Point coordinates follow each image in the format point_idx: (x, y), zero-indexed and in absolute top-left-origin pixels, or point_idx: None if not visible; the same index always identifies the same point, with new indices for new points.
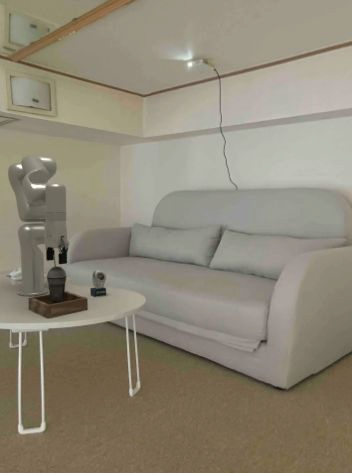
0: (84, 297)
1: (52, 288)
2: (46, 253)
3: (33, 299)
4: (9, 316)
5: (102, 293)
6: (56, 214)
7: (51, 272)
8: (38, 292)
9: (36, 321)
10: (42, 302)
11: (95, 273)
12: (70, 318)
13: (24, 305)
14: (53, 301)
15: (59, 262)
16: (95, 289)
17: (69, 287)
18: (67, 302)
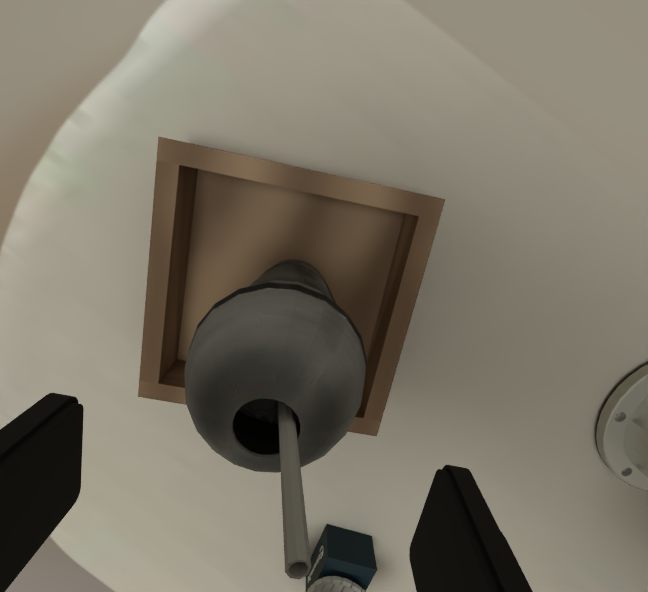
0: (164, 397)
1: (265, 279)
2: (507, 566)
3: (382, 193)
4: (402, 38)
5: (312, 565)
6: None
7: (249, 323)
8: (624, 418)
9: (189, 69)
10: (265, 176)
11: None
12: (98, 215)
13: (513, 235)
14: (277, 265)
15: (34, 406)
16: (330, 564)
17: (577, 574)
18: (148, 272)
